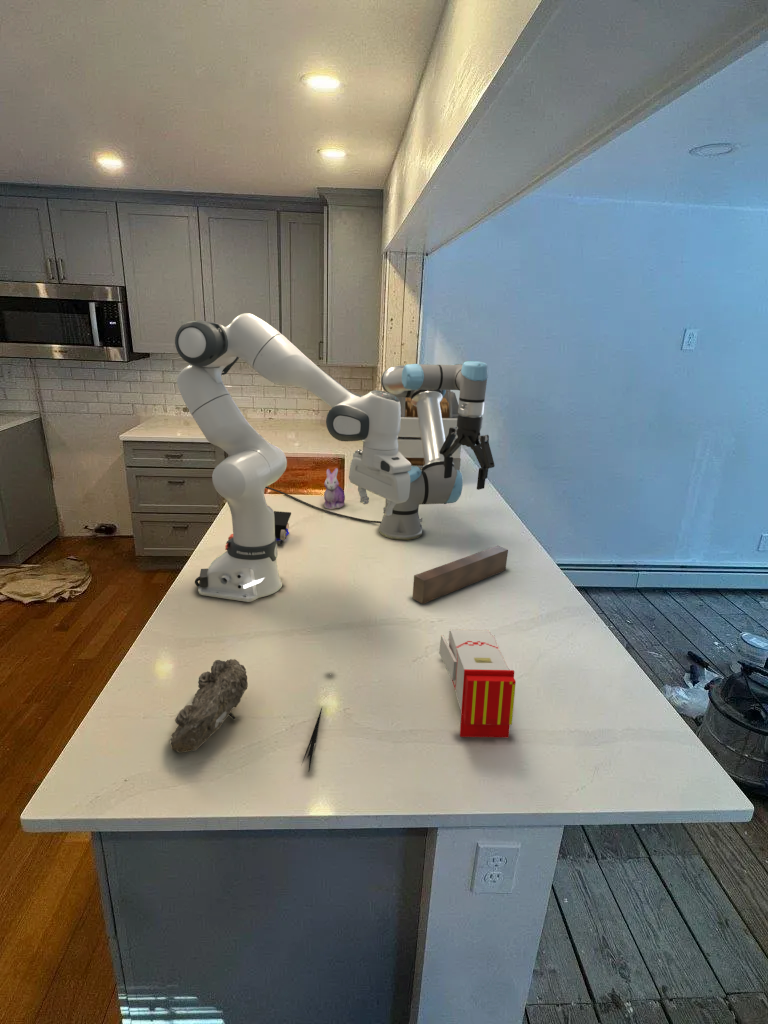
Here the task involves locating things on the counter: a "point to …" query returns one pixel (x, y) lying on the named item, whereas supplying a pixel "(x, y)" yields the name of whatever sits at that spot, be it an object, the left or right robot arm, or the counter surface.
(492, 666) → the toy
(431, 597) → the walnut rail
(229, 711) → the fossil
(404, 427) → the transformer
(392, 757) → the counter surface
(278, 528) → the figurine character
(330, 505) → the figurine
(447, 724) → the counter surface
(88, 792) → the counter surface
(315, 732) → the feather
